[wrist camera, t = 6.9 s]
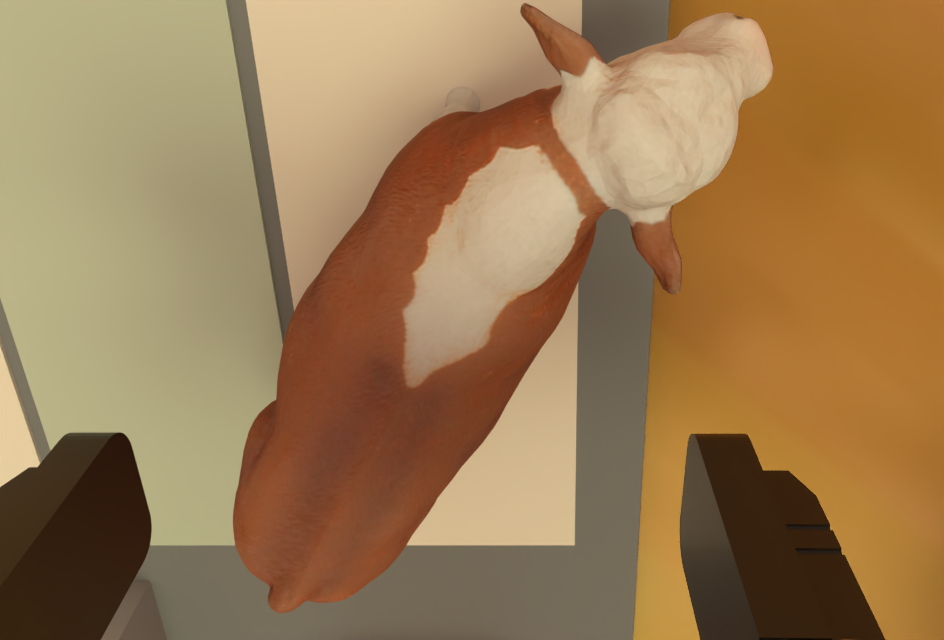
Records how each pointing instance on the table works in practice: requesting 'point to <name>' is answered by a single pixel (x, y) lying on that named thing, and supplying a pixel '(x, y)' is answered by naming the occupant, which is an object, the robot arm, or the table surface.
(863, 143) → the table surface
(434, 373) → the bull figurine
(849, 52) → the table surface
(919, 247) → the table surface
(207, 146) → the game board
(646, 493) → the table surface
